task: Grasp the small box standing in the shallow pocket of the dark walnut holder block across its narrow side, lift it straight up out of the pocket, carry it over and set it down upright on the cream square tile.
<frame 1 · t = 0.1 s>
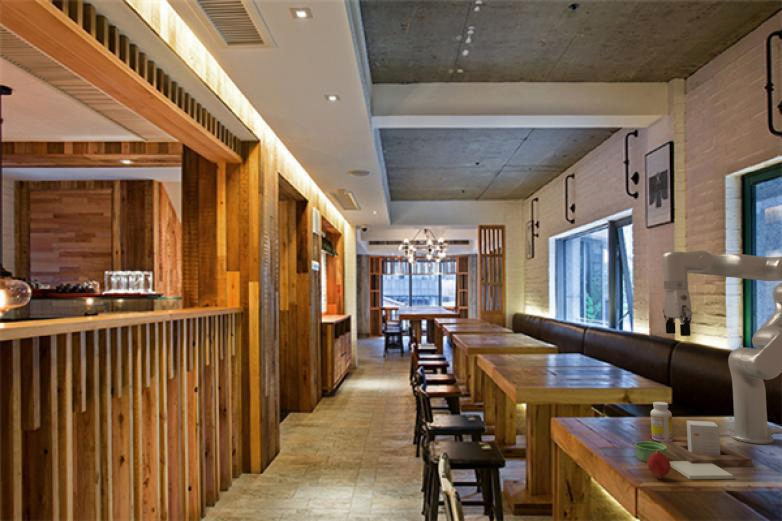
hand: (677, 334, 183), 37 cm above the table, tool pointing down, fingers open, 9 cm apart
holder block: (703, 456, 164), on the table
small box: (704, 457, 164), resting in holder block
supplement bottle: (662, 440, 182), on the table
ramekin: (651, 460, 162), on the table
cream square tile: (699, 471, 151), on the table
onion: (659, 479, 146), on the table
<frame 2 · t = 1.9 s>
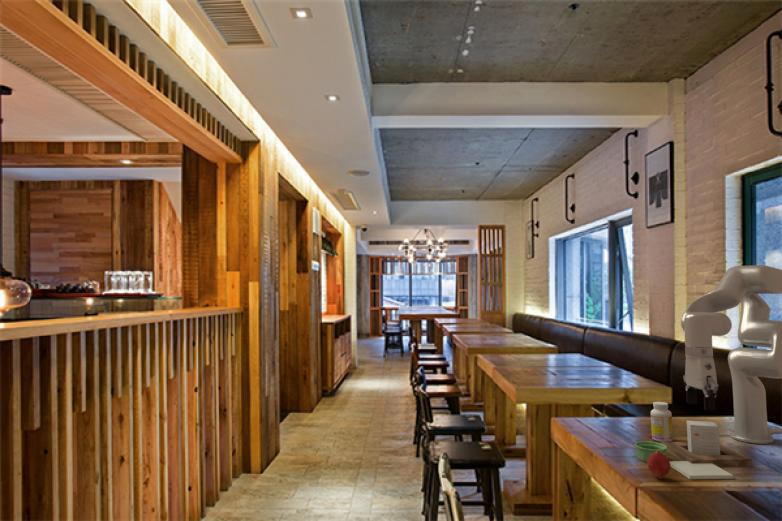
hand: (700, 406, 164), 16 cm above the table, tool pointing down, fingers open, 9 cm apart
nothing on the table moved.
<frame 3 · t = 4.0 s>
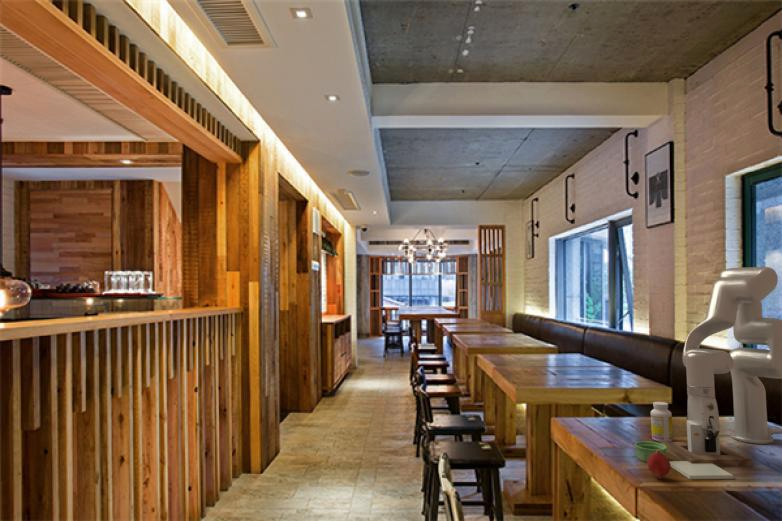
hand: (703, 447, 164), 3 cm above the table, tool pointing down, fingers closed on small box, 6 cm apart
small box: (703, 457, 164), resting in holder block, touching gripper
everything else where it was.
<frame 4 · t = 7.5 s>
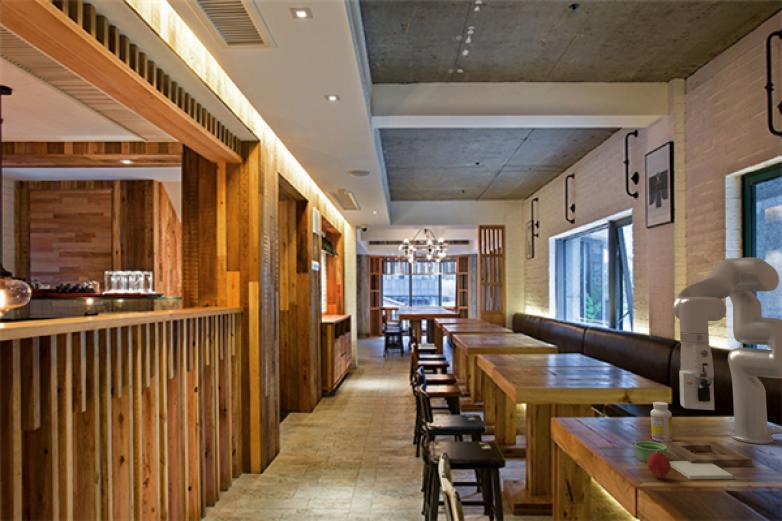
hand: (696, 398, 155), 20 cm above the table, tool pointing down, fingers closed on small box, 6 cm apart
small box: (696, 408, 155), point 17 cm above the table, touching gripper
everything else where it was.
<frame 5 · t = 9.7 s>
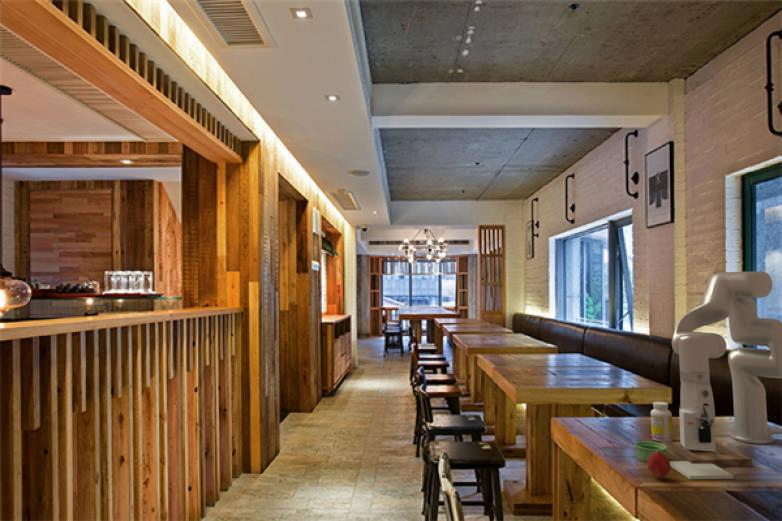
hand: (697, 438, 151), 10 cm above the table, tool pointing down, fingers closed on small box, 6 cm apart
small box: (697, 448, 151), point 7 cm above the table, touching gripper
everything else where it was.
when the fingers open (5 cm above the table, at t = 11.5 s): small box drops 1 cm, resting on cream square tile.
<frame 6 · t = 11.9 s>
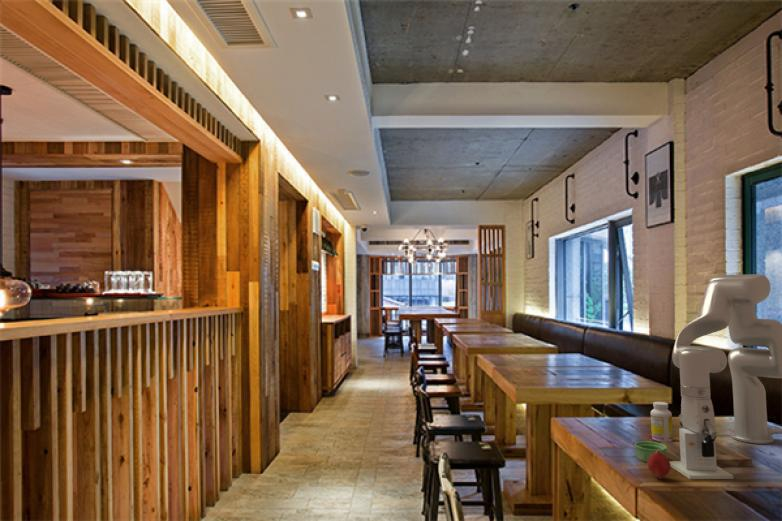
hand: (698, 451, 151), 6 cm above the table, tool pointing down, fingers open, 9 cm apart
small box: (698, 468, 151), point 1 cm above the table, touching cream square tile
everything else where it was.
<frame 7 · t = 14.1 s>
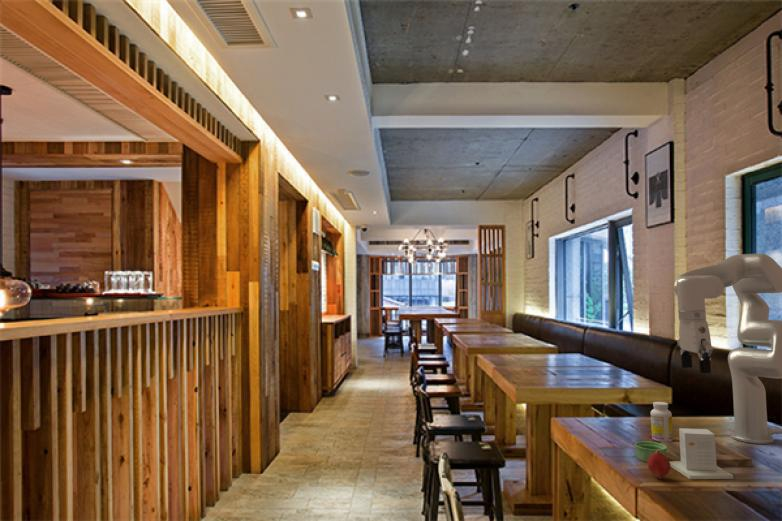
hand: (695, 370, 164), 27 cm above the table, tool pointing down, fingers open, 9 cm apart
nothing on the table moved.
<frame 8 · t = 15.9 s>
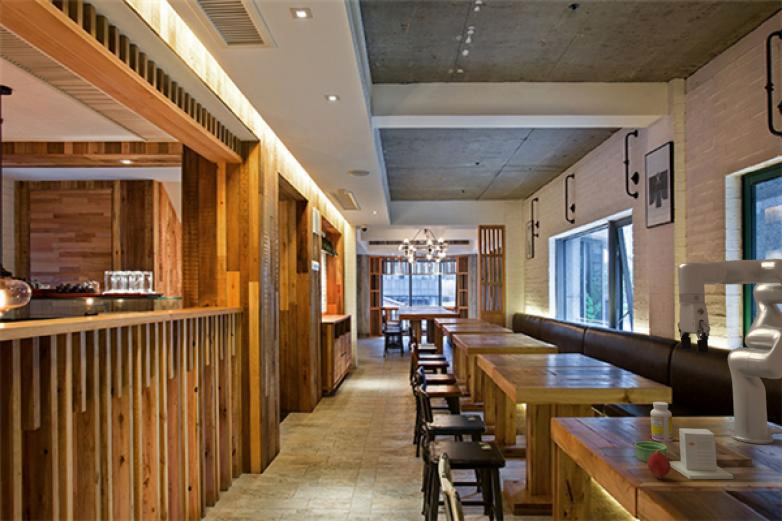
hand: (694, 350, 173), 32 cm above the table, tool pointing down, fingers open, 9 cm apart
nothing on the table moved.
at the end: small box inside the target area on the cream square tile (0.4 cm from its centre), point 0.8 cm above the cream square tile's base; small box tilted 0°; the gripper is holding nothing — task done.
